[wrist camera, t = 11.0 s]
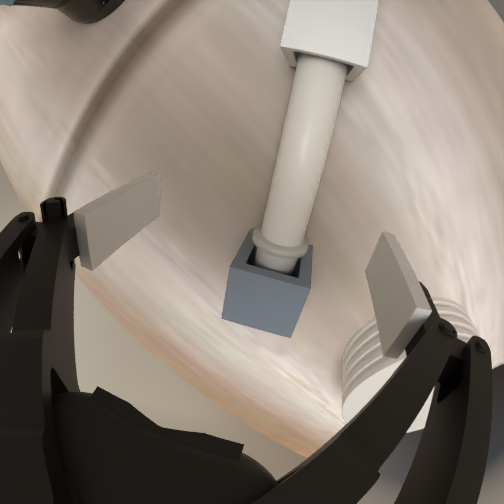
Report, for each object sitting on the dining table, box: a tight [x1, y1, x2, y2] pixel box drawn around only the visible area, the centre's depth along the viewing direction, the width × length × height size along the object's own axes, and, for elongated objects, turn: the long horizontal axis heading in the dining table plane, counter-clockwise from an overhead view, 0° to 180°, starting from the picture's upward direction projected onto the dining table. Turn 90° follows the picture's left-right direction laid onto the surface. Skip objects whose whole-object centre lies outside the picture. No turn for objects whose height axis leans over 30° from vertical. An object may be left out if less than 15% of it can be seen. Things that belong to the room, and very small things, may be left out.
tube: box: [252, 52, 348, 276], centre depth 28 cm, size 32×7×7 cm, turn 169°
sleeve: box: [280, 0, 378, 81], centre depth 19 cm, size 16×8×10 cm, turn 169°
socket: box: [222, 229, 313, 338], centre depth 36 cm, size 8×9×10 cm
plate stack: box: [342, 297, 479, 433], centre depth 39 cm, size 28×28×12 cm
